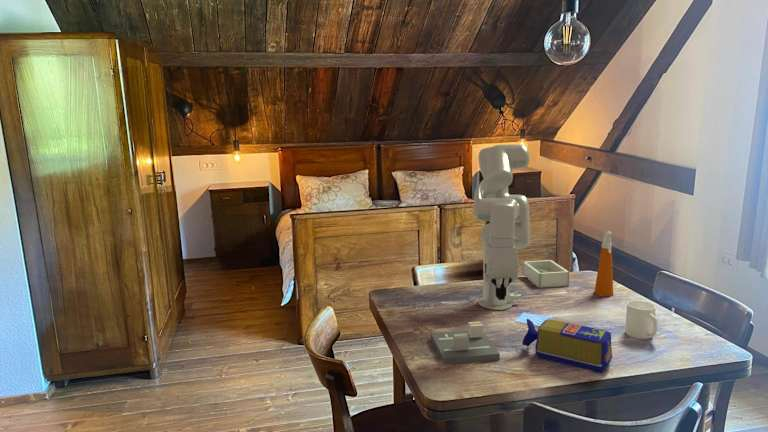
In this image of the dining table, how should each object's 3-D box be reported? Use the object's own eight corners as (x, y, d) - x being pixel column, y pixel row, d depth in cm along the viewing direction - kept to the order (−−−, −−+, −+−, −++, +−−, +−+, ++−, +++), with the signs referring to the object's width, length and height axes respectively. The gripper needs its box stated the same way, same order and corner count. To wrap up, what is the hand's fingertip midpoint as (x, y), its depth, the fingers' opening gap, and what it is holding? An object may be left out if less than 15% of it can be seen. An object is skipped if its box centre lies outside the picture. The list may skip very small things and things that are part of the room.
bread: (605, 377, 148) (607, 342, 146) (519, 355, 162) (520, 323, 160) (613, 362, 156) (616, 329, 154) (531, 342, 170) (532, 312, 168)
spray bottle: (597, 299, 206) (601, 232, 201) (592, 290, 216) (596, 226, 211) (616, 300, 204) (621, 233, 199) (611, 291, 215) (615, 227, 209)
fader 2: (480, 333, 172) (480, 320, 171) (483, 337, 169) (483, 324, 168) (468, 334, 172) (468, 321, 171) (470, 338, 169) (470, 325, 168)
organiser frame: (550, 272, 239) (550, 259, 238) (568, 285, 222) (569, 271, 221) (522, 274, 238) (522, 261, 237) (538, 287, 220) (539, 273, 219)
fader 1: (465, 345, 164) (466, 332, 163) (468, 349, 161) (468, 336, 160) (453, 346, 163) (453, 333, 162) (455, 350, 160) (455, 337, 159)
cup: (641, 328, 179) (644, 299, 177) (667, 343, 167) (669, 312, 165) (619, 330, 177) (621, 301, 175) (643, 345, 166) (646, 315, 164)
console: (481, 335, 176) (481, 329, 176) (499, 360, 159) (499, 353, 158) (430, 338, 174) (430, 332, 174) (443, 364, 157) (443, 358, 156)
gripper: (520, 238, 170) (519, 293, 173) (474, 240, 168) (474, 296, 171) (529, 243, 162) (528, 301, 166) (482, 245, 161) (481, 304, 164)
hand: (500, 298), depth 169 cm, fingers closed
